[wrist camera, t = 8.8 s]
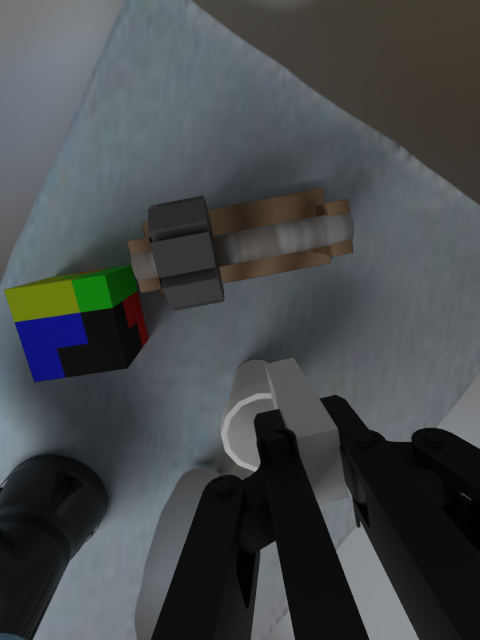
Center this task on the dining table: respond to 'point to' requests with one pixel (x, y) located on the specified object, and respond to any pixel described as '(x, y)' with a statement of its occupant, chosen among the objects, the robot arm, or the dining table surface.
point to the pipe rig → (264, 238)
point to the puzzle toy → (79, 322)
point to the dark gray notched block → (185, 253)
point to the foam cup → (246, 413)
